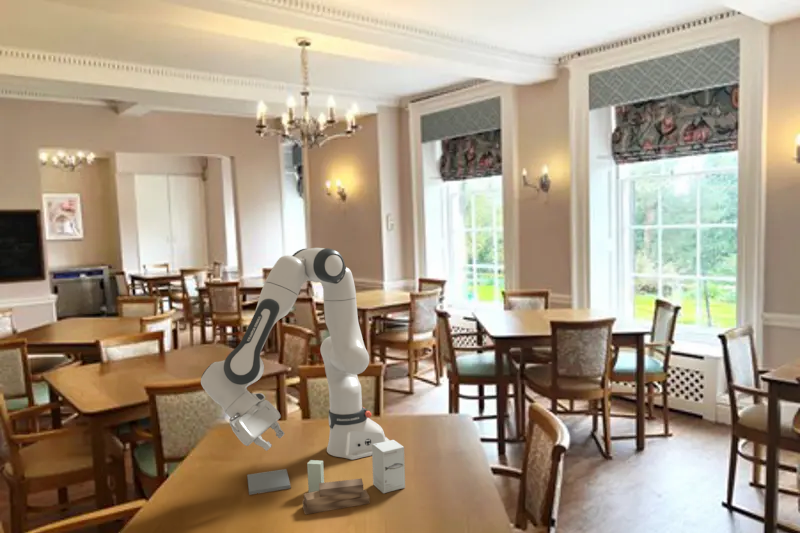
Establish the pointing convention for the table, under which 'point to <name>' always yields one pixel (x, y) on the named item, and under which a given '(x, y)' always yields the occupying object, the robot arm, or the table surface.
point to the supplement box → (388, 466)
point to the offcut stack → (335, 496)
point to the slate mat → (268, 481)
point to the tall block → (315, 475)
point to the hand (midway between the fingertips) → (276, 442)
